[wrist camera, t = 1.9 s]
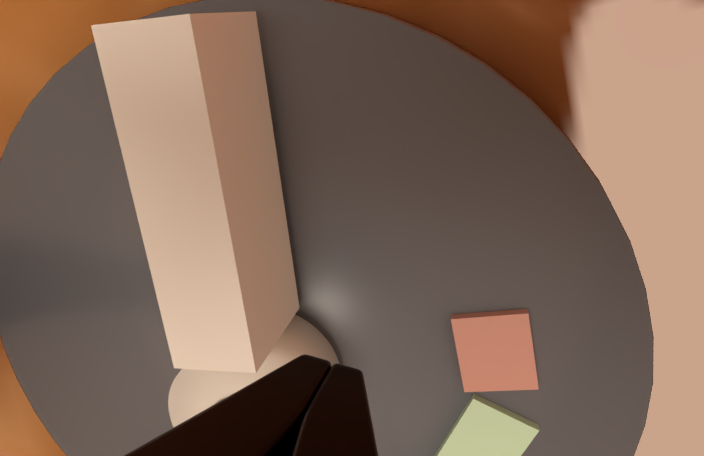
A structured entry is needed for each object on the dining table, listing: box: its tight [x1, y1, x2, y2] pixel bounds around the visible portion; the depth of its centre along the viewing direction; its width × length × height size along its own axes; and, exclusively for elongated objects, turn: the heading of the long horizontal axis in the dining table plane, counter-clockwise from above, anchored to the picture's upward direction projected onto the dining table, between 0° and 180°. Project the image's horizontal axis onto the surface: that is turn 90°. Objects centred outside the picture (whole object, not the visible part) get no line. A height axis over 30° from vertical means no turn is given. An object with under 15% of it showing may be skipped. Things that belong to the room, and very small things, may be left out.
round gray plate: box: [0, 0, 653, 456], centre depth 21 cm, size 25×25×2 cm
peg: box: [91, 11, 339, 427], centre depth 19 cm, size 22×5×4 cm, turn 6°
